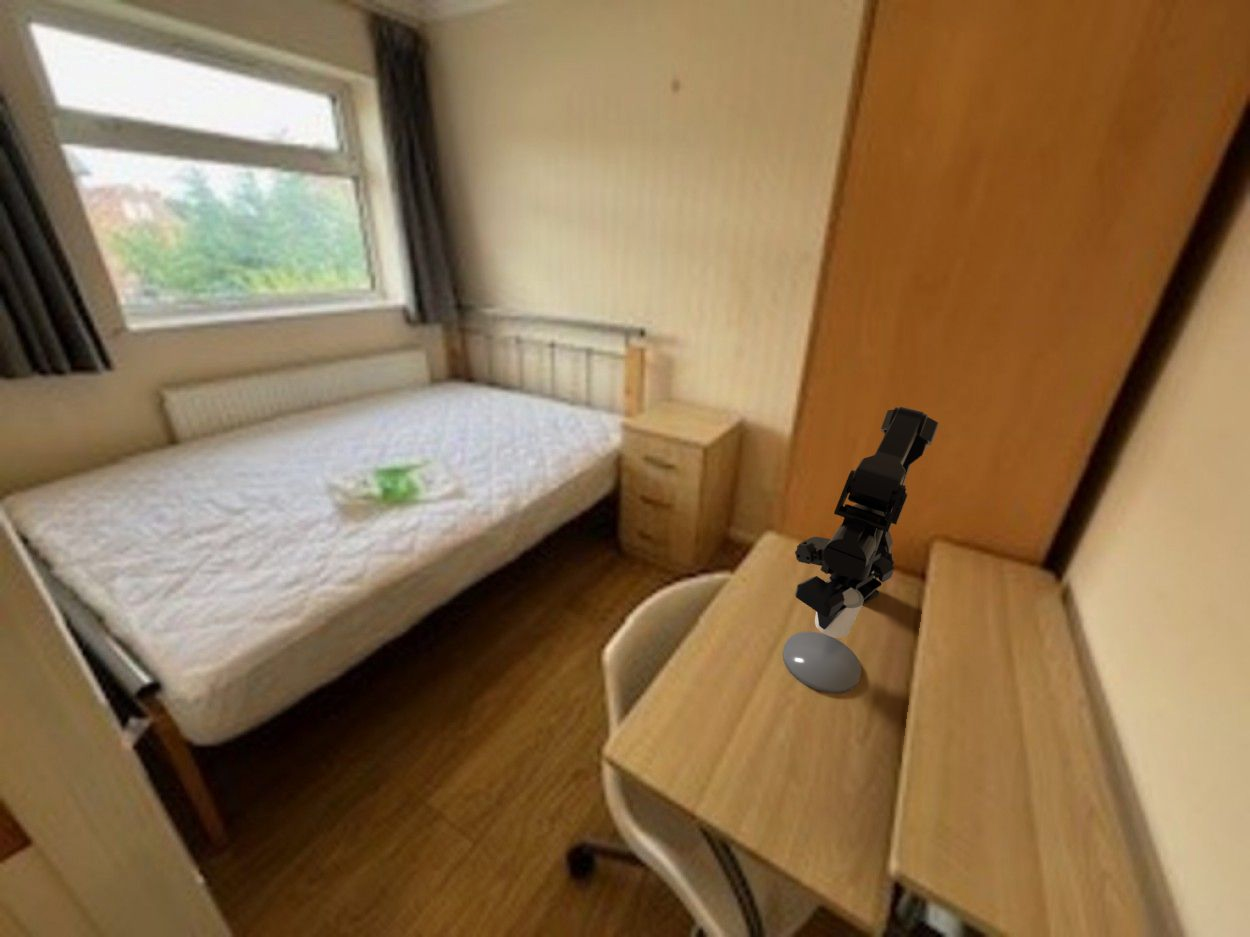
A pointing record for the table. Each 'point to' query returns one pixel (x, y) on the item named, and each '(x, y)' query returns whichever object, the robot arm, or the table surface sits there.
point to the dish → (821, 662)
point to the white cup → (844, 615)
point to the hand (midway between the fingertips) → (833, 620)
